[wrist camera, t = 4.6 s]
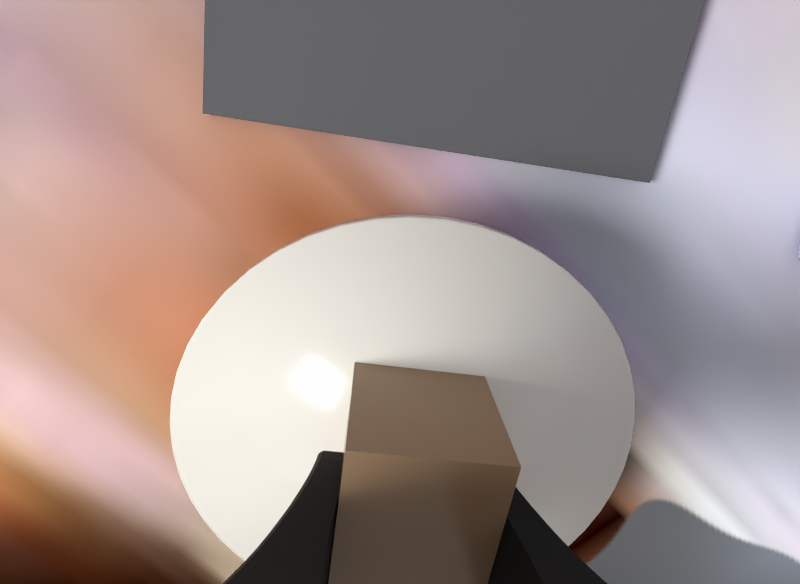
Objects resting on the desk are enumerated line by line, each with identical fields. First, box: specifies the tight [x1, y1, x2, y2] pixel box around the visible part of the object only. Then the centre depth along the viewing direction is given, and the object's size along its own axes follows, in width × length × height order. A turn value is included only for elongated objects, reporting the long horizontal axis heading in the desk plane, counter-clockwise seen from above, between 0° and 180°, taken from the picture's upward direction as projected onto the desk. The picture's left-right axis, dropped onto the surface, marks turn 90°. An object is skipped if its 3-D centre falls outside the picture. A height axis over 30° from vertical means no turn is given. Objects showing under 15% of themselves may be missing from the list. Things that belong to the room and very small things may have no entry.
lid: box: [170, 214, 635, 584], centre depth 12 cm, size 13×13×4 cm
